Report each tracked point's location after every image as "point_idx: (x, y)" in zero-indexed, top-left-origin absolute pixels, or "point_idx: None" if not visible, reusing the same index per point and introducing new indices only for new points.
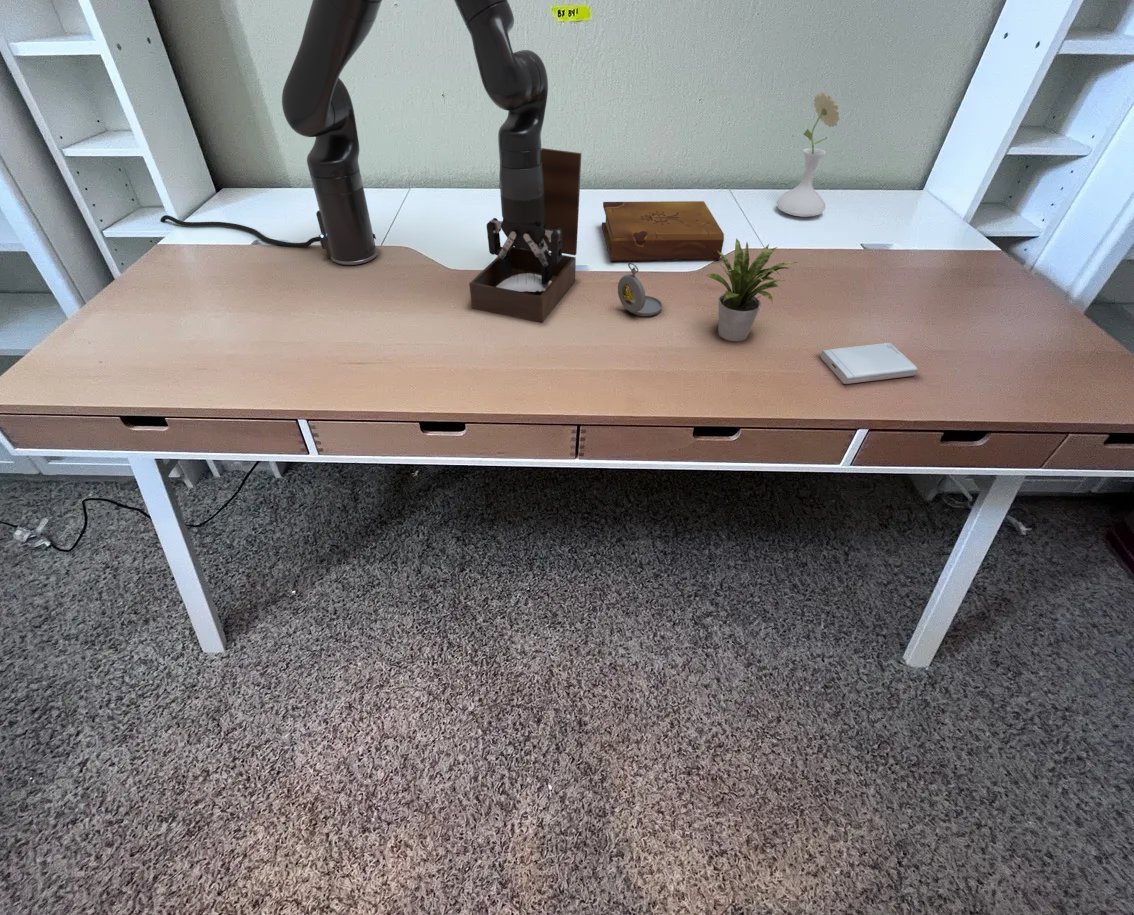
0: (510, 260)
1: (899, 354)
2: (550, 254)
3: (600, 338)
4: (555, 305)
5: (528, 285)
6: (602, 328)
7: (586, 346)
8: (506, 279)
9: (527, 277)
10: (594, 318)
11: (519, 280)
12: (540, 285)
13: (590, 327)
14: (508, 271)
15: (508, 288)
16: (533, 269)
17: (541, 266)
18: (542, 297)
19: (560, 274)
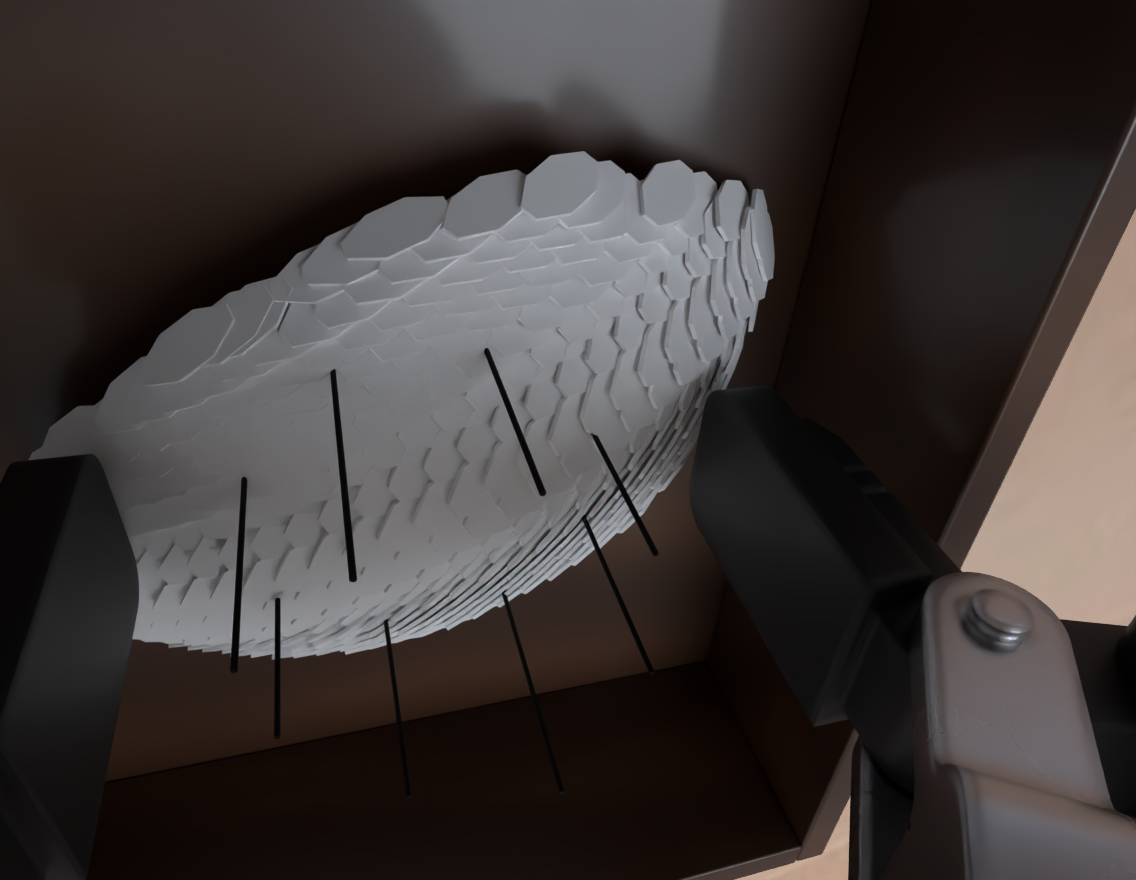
0: (33, 662)
1: None
2: (1076, 704)
3: (1073, 602)
4: None
5: (531, 585)
6: (1106, 518)
7: None
8: (155, 608)
9: (478, 543)
10: (1076, 443)
11: (388, 604)
12: (657, 487)
13: (1032, 544)
14: (111, 609)
15: (288, 655)
16: (511, 405)
17: (816, 724)
18: (822, 844)
19: (997, 474)
